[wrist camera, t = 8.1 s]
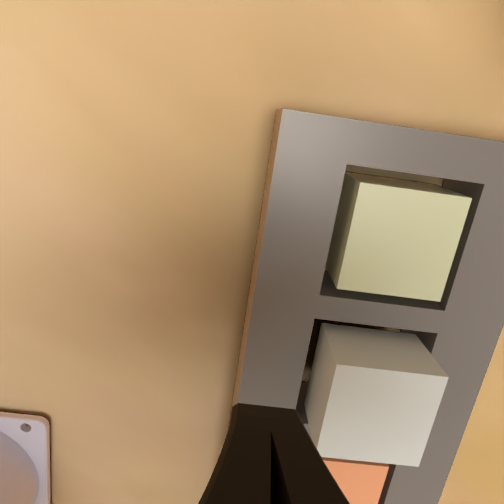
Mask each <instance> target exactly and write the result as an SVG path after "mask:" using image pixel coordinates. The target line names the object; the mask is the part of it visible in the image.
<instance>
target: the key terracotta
mask: <svg viewBox="0 0 504 504" xmlns="http://www.w3.org/2000/svg"><path fill="white" fill-rule="evenodd" d="M322 459H323V461H324V463H325V464H326V466H327V468H328V469H329V471H330V473H331V474H332V476H333V478H334V479H335V481H336V482H337V484H338V486H339V487H340V489H341V490H342V492H343V494H344V495H345V497H346V498H347V500H348V502H349V503H350V504H378V501H379V498H380V495H381V492H382V488H383V485H384V482H385V479H386V476H387V472H388V469H389V465H388V464H386V463H376V462H366V461H356V460H347V459H337V458H327V457H322Z"/></svg>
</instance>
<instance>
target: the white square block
mask: <svg viewBox="0 0 504 504" xmlns="http://www.w3.org/2000/svg"><path fill="white" fill-rule="evenodd" d="M448 378H449V377H448V376H447V374H446V373H445V372H444V370H443V369H442V368H441V366H440V365H439V364H438V363H437V361H436V360H435V359H434V357H433V356H432V355H431V354H430V352H429V351H428V350H427V348H426V347H425V346H424V345H423V343H422V342H421V341H420V339H419V338H418V337H417V335H416V334H410V333H402V332H393V331H385V330H377V329H368V328H360V327H352V326H344V325H335V324H327V323H321V328H320V332H319V337H318V342H317V346H316V351H315V356H314V360H313V365H312V370H311V374H310V379H309V384H308V388H307V393H306V397H305V402H304V405H305V410H306V414H307V419H308V424H309V429H310V434H311V439H312V441H313V443H314V445H315V447H316V448H317V450H318V452H319V454H320V456H321V457H327V458H337V459H347V460H356V461H366V462H376V463H386V464H396V465H406V466H415V467H419V464H420V461H421V458H422V455H423V452H424V450H425V447H426V444H427V441H428V438H429V435H430V432H431V429H432V426H433V423H434V420H435V417H436V414H437V411H438V408H439V405H440V402H441V399H442V396H443V393H444V390H445V387H446V384H447V381H448Z"/></svg>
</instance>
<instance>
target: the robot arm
mask: <svg viewBox="0 0 504 504" xmlns="http://www.w3.org/2000/svg"><path fill="white" fill-rule="evenodd" d="M25 423H26V424H29V425H30V426H27V425H26V424H25ZM0 504H50V430H49V422H48V420H47V419H46V418H44V417H42V416H37V415H27V414H17V413H8V412H0ZM198 504H350V503H349V502H348V500H347V498H346V497H345V495H344V494H343V492H342V490H341V489H340V487H339V486H338V484H337V482H336V481H335V479H334V478H333V476H332V474H331V473H330V471H329V469H328V468H327V466H326V464H325V463H324V461H323V459H322V457H321V456H320V454H319V452H318V450H317V448H316V447H315V445H314V443H313V441H312V439H311V438H310V436H309V434H308V432H307V430H306V428H305V426H304V424H303V422H302V420H301V418H300V417H299V415H298V413H297V412H296V411H295V409H289V408H280V407H270V406H261V405H252V404H243V403H237V404H236V405H234V406H233V407H232V411H231V417H230V424H229V430H228V433H227V436H226V439H225V442H224V445H223V448H222V451H221V454H220V456H219V459H218V461H217V464H216V466H215V468H214V471H213V473H212V476H211V478H210V480H209V483H208V485H207V487H206V489H205V491H204V493H203V495H202V497H201V499H200V501H199V503H198Z"/></svg>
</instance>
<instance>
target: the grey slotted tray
mask: <svg viewBox="0 0 504 504" xmlns="http://www.w3.org/2000/svg"><path fill="white" fill-rule="evenodd" d="M347 164H348V165H355V166H362V167H369V168H376V169H383V170H389V171H396V172H403V173H410V174H417V175H424V176H431V177H438V178H444V182H443V185H442V187H443V188H446V189H449V190H452V191H454V192H457V193H460V194H463V195H465V196H468V197H471V198H472V201H471V204H470V207H469V210H468V214H467V217H466V220H465V223H464V226H463V230H462V233H461V236H460V239H459V243H458V246H457V249H456V252H455V256H454V259H453V262H452V265H451V269H450V272H449V275H448V278H447V281H446V285H445V288H444V291H443V294H442V298H441V301H440V302H438V301H430V300H422V299H414V298H406V297H398V296H390V295H382V294H374V293H366V292H358V291H350V290H343V289H337V288H336V286H335V284H334V282H333V281H332V279H331V277H330V275H329V273H328V271H327V270H325V266H326V261H327V257H328V252H329V247H330V242H331V238H332V233H333V228H334V223H335V218H336V214H337V209H338V204H339V199H340V194H341V190H342V185H343V180H344V175H345V171H346V166H347ZM314 319H323V320H331V321H339V322H348V323H356V324H364V325H372V326H381V327H389V328H397V329H402V330H401V332H402V333H410V334H416V335H417V337H418V338H419V339H420V341H421V342H422V343H423V345H424V346H425V347H426V348H427V350H428V351H429V352H430V354H431V355H432V356H433V357H434V359H435V360H436V361H437V363H438V364H439V365H440V366H441V368H442V369H443V370H444V372H445V373H446V374H447V376H448V377H449V378H448V381H447V384H446V387H445V390H444V393H443V396H442V399H441V402H440V405H439V408H438V411H437V414H436V417H435V420H434V423H433V426H432V429H431V432H430V435H429V438H428V441H427V444H426V447H425V450H424V452H423V455H422V458H421V461H420V464H419V467H415V466H406V465H396V464H388V465H389V469H388V472H387V476H386V479H385V482H384V485H383V488H382V492H381V495H380V498H379V501H378V504H438V502H439V499H440V496H441V493H442V491H443V488H444V485H445V483H446V480H447V477H448V474H449V472H450V469H451V466H452V464H453V461H454V458H455V455H456V453H457V450H458V447H459V444H460V442H461V439H462V436H463V434H464V431H465V428H466V425H467V423H468V420H469V417H470V415H471V412H472V409H473V406H474V404H475V401H476V398H477V396H478V393H479V390H480V387H481V385H482V382H483V379H484V377H485V374H486V371H487V368H488V366H489V363H490V360H491V358H492V355H493V352H494V349H495V347H496V344H497V341H498V338H499V336H500V333H501V330H502V328H503V325H504V142H503V141H496V140H490V139H483V138H476V137H470V136H463V135H456V134H450V133H443V132H436V131H430V130H423V129H416V128H410V127H403V126H396V125H390V124H383V123H376V122H370V121H363V120H356V119H350V118H343V117H337V116H330V115H323V114H317V113H310V112H303V111H297V110H290V109H283V108H282V109H276V116H275V122H274V129H273V136H272V142H271V149H270V156H269V162H268V169H267V175H266V182H265V189H264V195H263V202H262V209H261V215H260V222H259V228H258V235H257V242H256V248H255V255H254V262H253V268H252V275H251V281H250V288H249V295H248V301H247V308H246V315H245V321H244V328H243V334H242V341H241V348H240V354H239V361H238V368H237V374H236V381H235V387H234V394H233V401H232V407H233V406H234V405H236V404H237V403H243V404H252V405H261V406H270V407H280V408H289V409H295V411H296V412H297V413H298V415H299V417H300V418H301V420H302V422H303V424H304V426H305V428H306V430H307V432H308V434H309V436H310V438H311V434H310V429H309V424H308V419H307V414H306V410H305V405H304V402H305V397H306V393H307V388H308V384H309V383H308V382H301V381H302V376H303V372H304V367H305V362H306V357H307V352H308V348H309V343H310V338H311V333H312V329H313V324H314ZM232 407H231V411H232ZM230 417H231V414H230ZM229 424H230V421H229ZM228 430H229V427H228Z"/></svg>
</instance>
